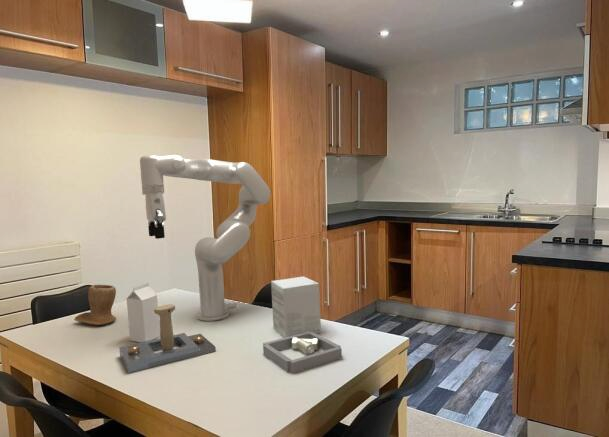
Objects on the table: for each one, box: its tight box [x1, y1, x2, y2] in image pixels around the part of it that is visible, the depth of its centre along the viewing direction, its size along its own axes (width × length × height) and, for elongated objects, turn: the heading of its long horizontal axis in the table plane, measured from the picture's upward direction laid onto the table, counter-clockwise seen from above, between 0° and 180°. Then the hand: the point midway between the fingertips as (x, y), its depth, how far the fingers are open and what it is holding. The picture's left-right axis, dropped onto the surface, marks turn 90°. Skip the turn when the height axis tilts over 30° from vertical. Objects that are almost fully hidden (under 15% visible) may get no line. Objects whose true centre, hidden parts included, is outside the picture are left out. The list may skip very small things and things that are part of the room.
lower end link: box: [148, 333, 216, 369], centre depth 140 cm, size 20×15×3 cm
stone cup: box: [73, 284, 117, 326], centre depth 174 cm, size 15×12×15 cm
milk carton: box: [126, 282, 160, 343], centre depth 152 cm, size 7×7×19 cm
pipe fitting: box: [291, 338, 320, 356], centre depth 136 cm, size 8×4×7 cm
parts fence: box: [262, 332, 343, 374], centre depth 132 cm, size 18×18×3 cm
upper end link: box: [118, 332, 198, 374], centre depth 137 cm, size 20×15×5 cm
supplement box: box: [270, 276, 322, 338], centre depth 154 cm, size 13×13×18 cm
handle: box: [154, 303, 176, 352], centre depth 138 cm, size 5×6×15 cm
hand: (156, 237), depth 160 cm, fingers open, 9 cm apart
